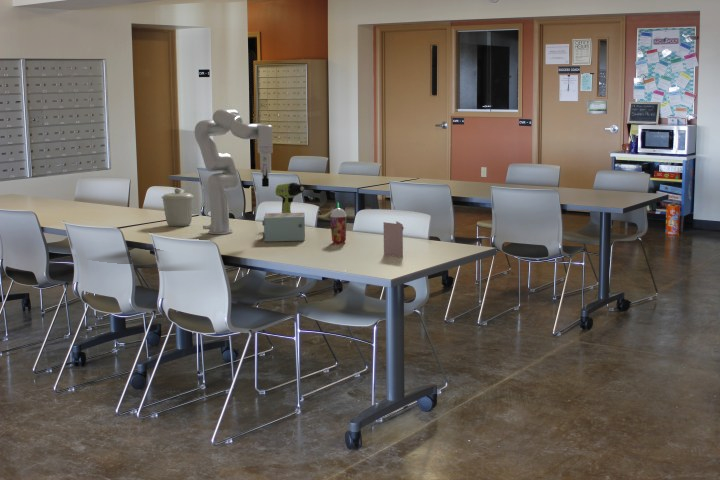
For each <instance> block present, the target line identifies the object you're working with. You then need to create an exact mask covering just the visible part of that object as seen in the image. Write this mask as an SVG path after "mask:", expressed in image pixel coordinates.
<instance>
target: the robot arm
mask: <svg viewBox="0 0 720 480" xmlns="http://www.w3.org/2000/svg"><path fill="white" fill-rule="evenodd" d="M273 130H274V129H273V126H272V125H271V124H263V123H243V118H242V117H241V116H240V114H239V112H238V111H237V110H236V109H234V108H225V109H218V110H215V112H213V114H212V119H204V120H200V121H198V122H197V123H196V125H195V127H194V131H193V132H194V138H195V140H196V143H197V144H198V147H199V149H200V154H201V156H202V159H203V163H204V166H205V168H206V170H207V171H208V172H211V173H212V172H213V174H210V176H208V178H207V182H206V183H207V184H206V185H207V188H208V193H209V205H210V206H209V207H210V224H209V225H202V229H203V230H208V231H207V233H208V234H210V235H228V234H232V233H233V230H232V229H230V218H229V217H230V214H229V213H230V212H229V211H230V210H229V197H228V195H227V193H226V192H225V191H233V190H236V189H237V188H238V187H239V183H240V179H239V174H238V172H237V168H236V164H235V162H234V159H233V157H232V155H230V153H227V152H221V153H220V152H219V150H218V147H217V145H216V143H215V142H214V140H213V139H212V138H211V137H215V136H217V137H218V136H223V135H226V134H227V133H228V132H231V134H232V135H233V136H234V137H237V138H239V139H242V140H254V139H255V140H256V139H257V153H258V154H259V167H260V173H261V174H262V176H261V177H262V178H261V187H263V188H265V187H266V188H267V187H269V183H270V181H269V174H271V172H272V154H273V152H274V149H273V148H274V147H273V145H274V141H273V140H274V138H273V137H274V135H273V134H274V133H273V132H274V131H273ZM216 172H217V173H216Z"/></svg>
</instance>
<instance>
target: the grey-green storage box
mask: <svg viewBox="0 0 720 480" xmlns="http://www.w3.org/2000/svg"><path fill="white" fill-rule="evenodd" d="M262 226H263V233H262V239H263V241H264V242H265V241H268V242H305V240H306V235H305V236H304V216H301V217H263V220H262Z"/></svg>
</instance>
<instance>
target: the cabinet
mask: <svg viewBox="0 0 720 480" xmlns="http://www.w3.org/2000/svg"><path fill="white" fill-rule="evenodd" d="M301 216H304V236H305V237H306V229H305V228H306V227H305V226H306V223H305V222H306V221H305V220H306V219H305V212H291V213H281V212H273V213H271V212H269V213H268V212H267V213H264V217H301ZM264 217H263V218H264ZM264 242H269V241H264Z"/></svg>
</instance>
